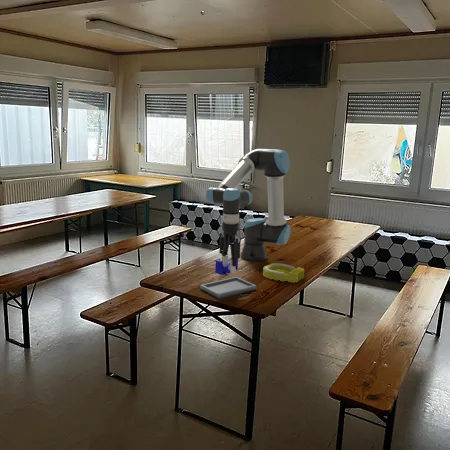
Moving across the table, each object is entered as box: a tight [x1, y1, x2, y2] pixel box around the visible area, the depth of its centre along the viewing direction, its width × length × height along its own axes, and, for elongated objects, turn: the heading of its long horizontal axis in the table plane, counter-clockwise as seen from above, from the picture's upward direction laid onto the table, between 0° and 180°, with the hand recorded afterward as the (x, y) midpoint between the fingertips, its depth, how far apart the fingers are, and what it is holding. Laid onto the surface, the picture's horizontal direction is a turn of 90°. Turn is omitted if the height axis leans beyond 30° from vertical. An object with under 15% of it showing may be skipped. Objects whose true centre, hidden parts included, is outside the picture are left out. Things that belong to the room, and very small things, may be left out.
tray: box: [199, 276, 257, 300], centre depth 215 cm, size 22×15×2 cm
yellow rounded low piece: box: [262, 262, 305, 283], centre depth 236 cm, size 16×21×5 cm
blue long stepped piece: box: [214, 257, 239, 276], centre depth 212 cm, size 12×4×6 cm, turn 135°
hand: (228, 270), depth 213 cm, fingers closed on blue long stepped piece, 5 cm apart
